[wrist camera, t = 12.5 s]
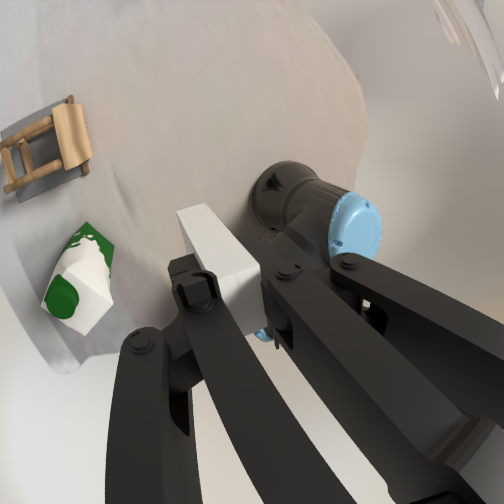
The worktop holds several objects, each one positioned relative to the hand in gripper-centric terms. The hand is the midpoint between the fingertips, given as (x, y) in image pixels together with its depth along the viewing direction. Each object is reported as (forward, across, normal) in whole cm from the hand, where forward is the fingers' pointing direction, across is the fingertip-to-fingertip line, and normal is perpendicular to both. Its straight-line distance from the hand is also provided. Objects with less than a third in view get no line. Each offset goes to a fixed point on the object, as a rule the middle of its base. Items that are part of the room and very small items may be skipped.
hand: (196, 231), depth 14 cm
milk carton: (+35, +16, +12) cm, 40 cm away
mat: (+34, +20, -8) cm, 40 cm away
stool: (+29, +10, -8) cm, 31 cm away
